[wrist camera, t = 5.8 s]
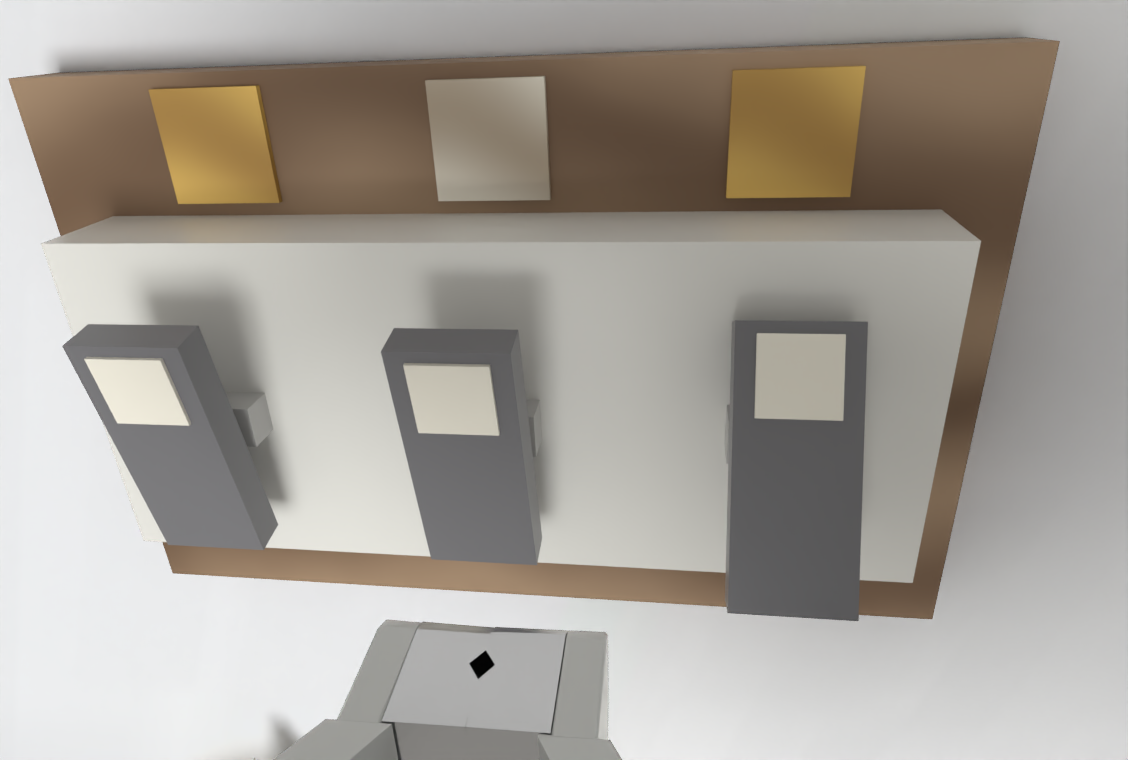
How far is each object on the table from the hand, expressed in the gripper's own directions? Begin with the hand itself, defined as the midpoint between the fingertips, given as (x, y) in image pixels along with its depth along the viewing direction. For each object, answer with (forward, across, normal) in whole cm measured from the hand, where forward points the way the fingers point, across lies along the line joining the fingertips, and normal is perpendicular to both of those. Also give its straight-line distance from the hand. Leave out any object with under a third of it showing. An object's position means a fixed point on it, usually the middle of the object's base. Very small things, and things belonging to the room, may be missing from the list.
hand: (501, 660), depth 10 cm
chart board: (+16, +2, +2) cm, 16 cm away
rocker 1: (+9, +11, +2) cm, 14 cm away
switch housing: (+14, +3, +2) cm, 14 cm away
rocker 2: (+9, +3, +2) cm, 10 cm away
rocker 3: (+9, -5, +2) cm, 11 cm away
